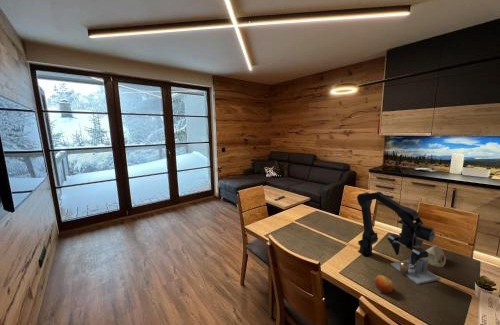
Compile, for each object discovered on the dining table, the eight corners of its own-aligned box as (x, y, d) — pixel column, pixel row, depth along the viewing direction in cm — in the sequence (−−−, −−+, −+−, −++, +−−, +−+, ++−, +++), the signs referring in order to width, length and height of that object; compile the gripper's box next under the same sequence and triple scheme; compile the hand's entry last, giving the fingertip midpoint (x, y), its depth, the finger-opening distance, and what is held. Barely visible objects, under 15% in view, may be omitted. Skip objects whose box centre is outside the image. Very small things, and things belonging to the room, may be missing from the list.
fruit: (367, 282, 107) (376, 269, 106) (379, 288, 108) (387, 276, 107) (378, 294, 99) (387, 281, 98) (391, 301, 100) (400, 287, 99)
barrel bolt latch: (418, 284, 107) (419, 271, 105) (390, 264, 122) (392, 253, 121) (439, 279, 110) (441, 266, 108) (410, 261, 125) (411, 249, 124)
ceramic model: (439, 269, 117) (441, 253, 116) (416, 259, 127) (418, 244, 125) (449, 261, 124) (452, 246, 122) (426, 252, 134) (428, 237, 132)
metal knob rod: (404, 274, 112) (405, 265, 111) (398, 270, 116) (399, 261, 115) (430, 269, 116) (431, 260, 115) (423, 264, 119) (424, 256, 118)
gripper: (438, 240, 103) (434, 268, 106) (404, 223, 121) (401, 248, 124) (420, 243, 101) (417, 272, 104) (388, 225, 119) (385, 250, 122)
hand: (404, 259), depth 113 cm, fingers open, 9 cm apart
